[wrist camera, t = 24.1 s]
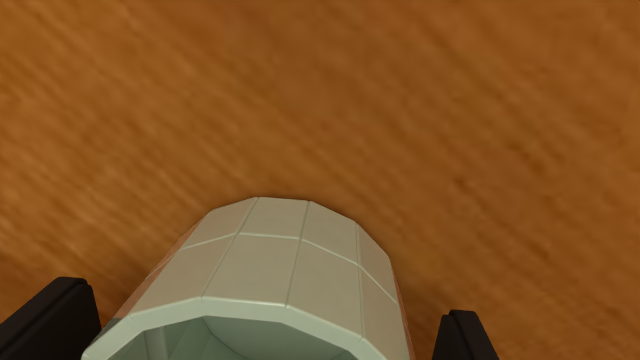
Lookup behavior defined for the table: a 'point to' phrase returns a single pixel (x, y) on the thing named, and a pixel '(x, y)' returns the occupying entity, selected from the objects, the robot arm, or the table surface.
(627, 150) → the table surface
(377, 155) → the table surface
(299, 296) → the dish
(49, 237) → the table surface
